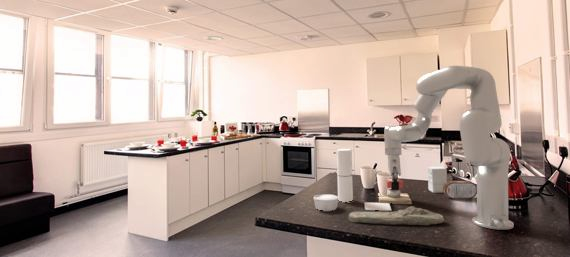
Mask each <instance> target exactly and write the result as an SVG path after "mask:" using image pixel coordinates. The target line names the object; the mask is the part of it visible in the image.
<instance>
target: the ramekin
mask: <svg viewBox="0 0 570 257" xmlns="http://www.w3.org/2000/svg"><path fill="white" fill-rule="evenodd" d="M313 201H314V202H313V203H314V207H315V209H316V210H317V209H318V210H317V211H320V210H323V211H322V212H331V211H332V210H333V211H335V210H336V209H337V208H338V202H339V201H338V195H335V194H328V193H327V194H316V195H314V196H313Z"/></svg>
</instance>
